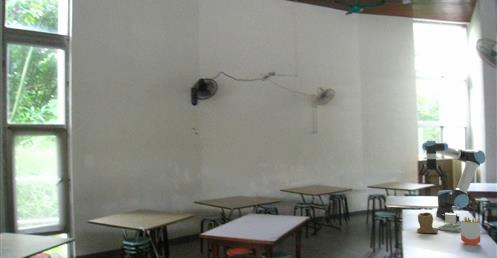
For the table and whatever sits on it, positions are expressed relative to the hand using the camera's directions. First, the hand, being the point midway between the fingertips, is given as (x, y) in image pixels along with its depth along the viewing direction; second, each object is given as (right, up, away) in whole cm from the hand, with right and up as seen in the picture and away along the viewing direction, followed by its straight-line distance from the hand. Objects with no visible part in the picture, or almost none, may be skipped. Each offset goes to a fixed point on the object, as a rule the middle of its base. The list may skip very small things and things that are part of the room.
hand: (431, 184), depth 348 cm
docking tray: (+3, -31, -28) cm, 42 cm away
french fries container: (-6, -31, -71) cm, 78 cm away
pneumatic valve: (+2, -30, -28) cm, 41 cm away
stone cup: (-20, -32, -39) cm, 54 cm away
